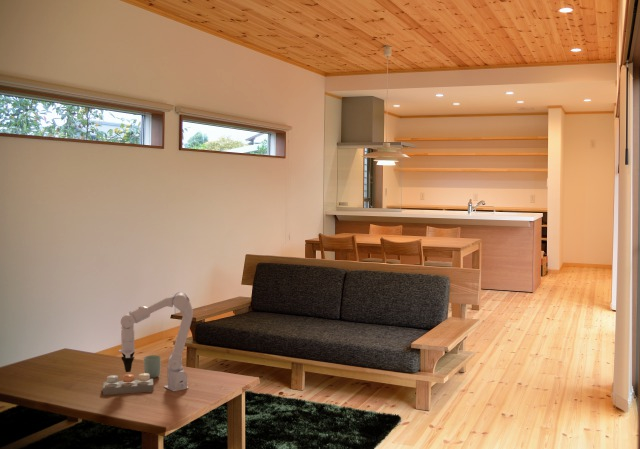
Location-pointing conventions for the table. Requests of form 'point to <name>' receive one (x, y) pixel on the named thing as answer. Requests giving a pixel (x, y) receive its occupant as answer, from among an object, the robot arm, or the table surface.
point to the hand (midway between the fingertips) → (128, 369)
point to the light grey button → (112, 379)
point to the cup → (152, 365)
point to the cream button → (144, 377)
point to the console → (127, 387)
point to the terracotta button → (128, 378)
